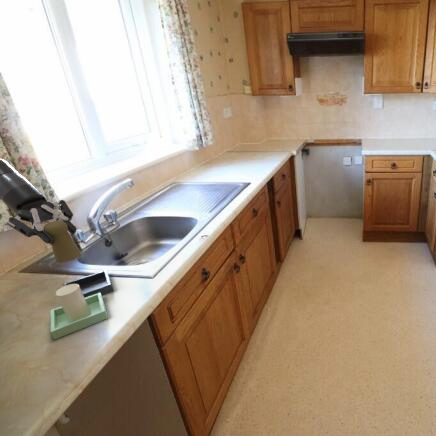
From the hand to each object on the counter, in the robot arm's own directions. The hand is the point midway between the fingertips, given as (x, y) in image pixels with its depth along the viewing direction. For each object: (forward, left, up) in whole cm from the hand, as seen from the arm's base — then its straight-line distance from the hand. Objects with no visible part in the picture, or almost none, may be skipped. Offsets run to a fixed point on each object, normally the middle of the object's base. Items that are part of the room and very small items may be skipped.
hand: (64, 237), depth 89 cm
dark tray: (0, +1, -19) cm, 19 cm away
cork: (-1, +2, -7) cm, 7 cm away
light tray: (-3, -12, -19) cm, 23 cm away
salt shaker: (-3, -12, -19) cm, 22 cm away
